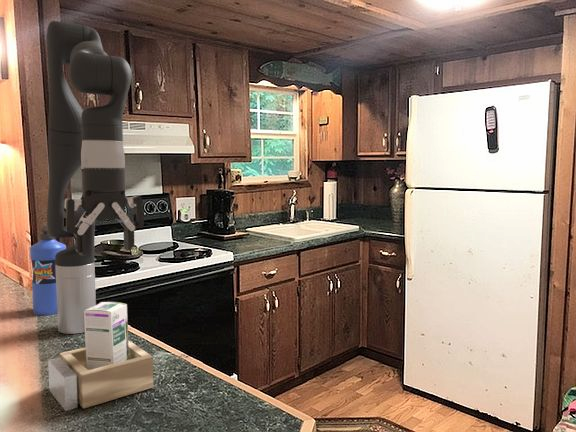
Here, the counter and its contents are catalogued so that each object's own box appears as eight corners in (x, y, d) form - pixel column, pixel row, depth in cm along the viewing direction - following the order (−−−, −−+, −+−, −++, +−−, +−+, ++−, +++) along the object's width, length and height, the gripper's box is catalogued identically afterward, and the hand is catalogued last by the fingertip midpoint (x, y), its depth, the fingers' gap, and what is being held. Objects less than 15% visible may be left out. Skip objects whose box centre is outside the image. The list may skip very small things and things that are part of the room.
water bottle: (58, 315, 136) (55, 227, 134) (26, 315, 137) (22, 227, 134) (73, 306, 146) (70, 223, 143) (43, 305, 146) (39, 223, 143)
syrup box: (114, 387, 90) (111, 311, 89) (85, 383, 91) (83, 308, 90) (130, 374, 96) (128, 302, 94) (103, 371, 97) (101, 300, 95)
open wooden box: (61, 383, 94) (59, 353, 93) (126, 365, 102) (125, 338, 102) (83, 408, 84) (82, 375, 83) (153, 387, 92) (153, 356, 92)
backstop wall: (49, 390, 91) (48, 359, 90) (60, 387, 92) (59, 357, 92) (65, 411, 84) (64, 377, 83) (77, 407, 85) (76, 374, 84)
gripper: (132, 166, 97) (134, 246, 99) (56, 165, 88) (59, 253, 89) (148, 166, 91) (150, 251, 93) (68, 165, 82) (72, 260, 84)
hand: (105, 252), depth 91 cm, fingers open, 8 cm apart
